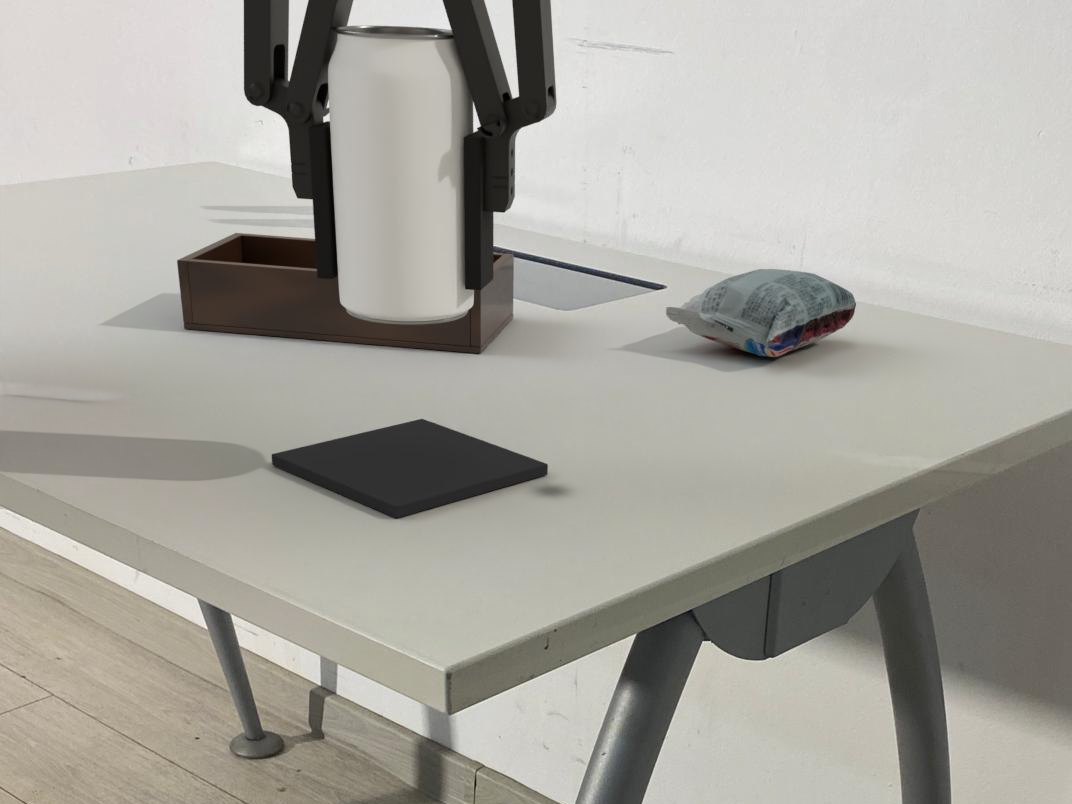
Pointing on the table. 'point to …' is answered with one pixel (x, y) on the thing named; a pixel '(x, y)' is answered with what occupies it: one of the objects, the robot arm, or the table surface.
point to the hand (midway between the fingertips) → (406, 277)
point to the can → (399, 173)
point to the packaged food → (767, 311)
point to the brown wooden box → (317, 298)
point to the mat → (409, 466)
